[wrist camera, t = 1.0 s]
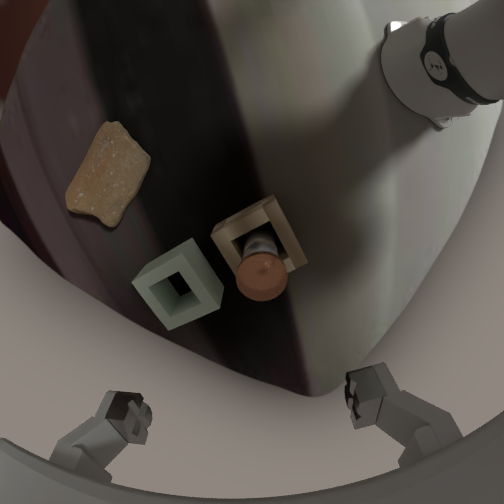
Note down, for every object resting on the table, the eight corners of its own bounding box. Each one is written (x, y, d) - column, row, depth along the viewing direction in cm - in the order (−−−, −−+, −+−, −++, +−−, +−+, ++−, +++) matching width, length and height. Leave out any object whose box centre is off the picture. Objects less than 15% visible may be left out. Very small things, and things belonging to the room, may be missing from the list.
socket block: (192, 237, 39) (182, 253, 33) (224, 286, 41) (219, 308, 36) (146, 264, 40) (131, 282, 35) (178, 308, 43) (168, 330, 38)
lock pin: (267, 213, 37) (273, 245, 25) (283, 243, 39) (296, 287, 27) (235, 229, 38) (226, 269, 26) (252, 259, 40) (251, 308, 28)
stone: (67, 194, 36) (56, 198, 34) (114, 114, 32) (103, 112, 29) (111, 236, 39) (101, 243, 36) (165, 156, 35) (158, 158, 32)
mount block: (273, 193, 36) (276, 200, 32) (302, 248, 39) (308, 262, 34) (215, 224, 38) (210, 235, 33) (247, 275, 41) (246, 292, 36)
